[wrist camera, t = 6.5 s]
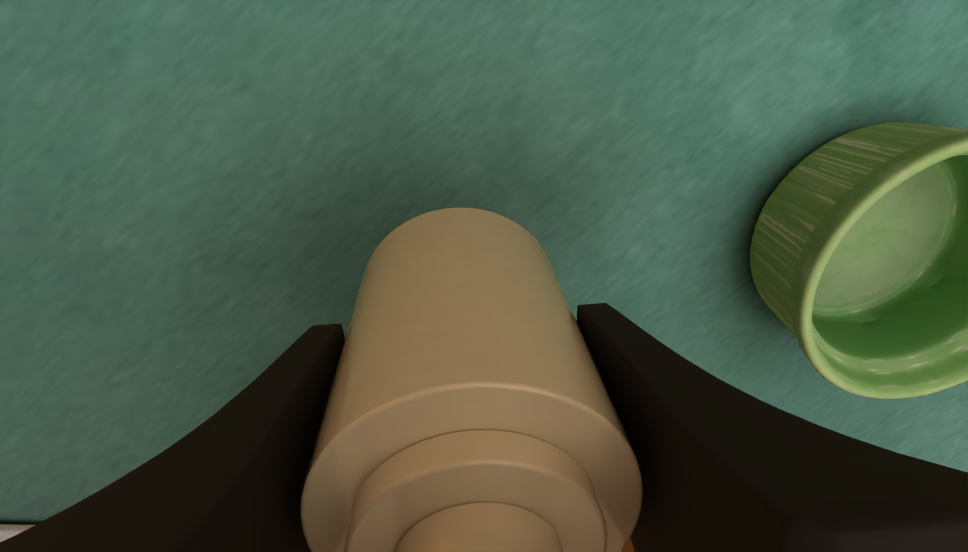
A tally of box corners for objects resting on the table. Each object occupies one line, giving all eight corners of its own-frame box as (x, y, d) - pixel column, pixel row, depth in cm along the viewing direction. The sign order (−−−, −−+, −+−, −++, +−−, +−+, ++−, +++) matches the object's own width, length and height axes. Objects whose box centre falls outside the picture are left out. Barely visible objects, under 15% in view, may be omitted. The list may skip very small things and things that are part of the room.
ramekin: (911, 44, 17) (1053, 54, 13) (1008, 224, 20) (1144, 275, 16) (685, 234, 19) (748, 291, 15) (804, 366, 23) (880, 441, 19)
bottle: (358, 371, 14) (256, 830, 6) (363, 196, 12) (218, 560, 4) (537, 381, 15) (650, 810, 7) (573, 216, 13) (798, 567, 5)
